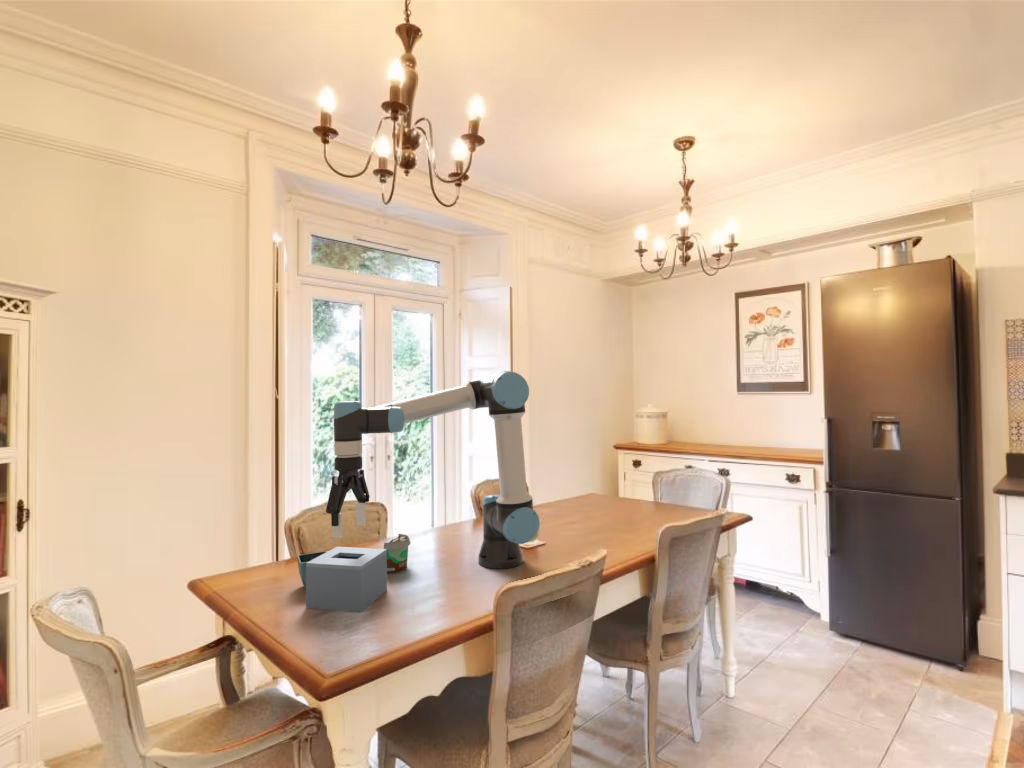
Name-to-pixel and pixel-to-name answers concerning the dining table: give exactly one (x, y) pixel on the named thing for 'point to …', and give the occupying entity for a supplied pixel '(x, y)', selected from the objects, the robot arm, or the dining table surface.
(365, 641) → the dining table surface
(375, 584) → the coin box
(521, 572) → the dining table surface
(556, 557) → the dining table surface
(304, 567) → the flower pot
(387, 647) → the dining table surface
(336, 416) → the robot arm
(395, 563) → the food container
